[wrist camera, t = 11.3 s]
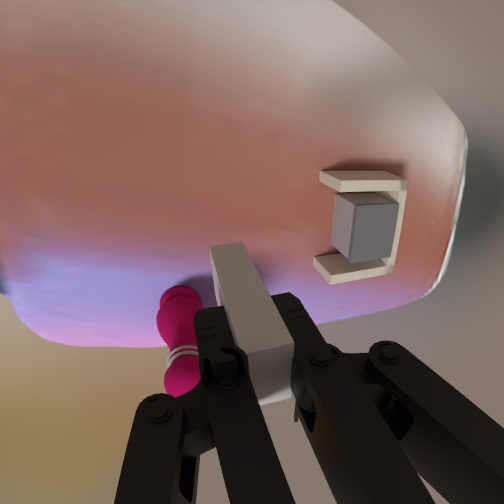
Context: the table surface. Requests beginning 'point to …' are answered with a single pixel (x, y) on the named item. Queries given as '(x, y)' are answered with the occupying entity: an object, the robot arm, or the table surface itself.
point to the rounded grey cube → (364, 226)
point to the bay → (356, 181)
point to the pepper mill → (180, 338)
